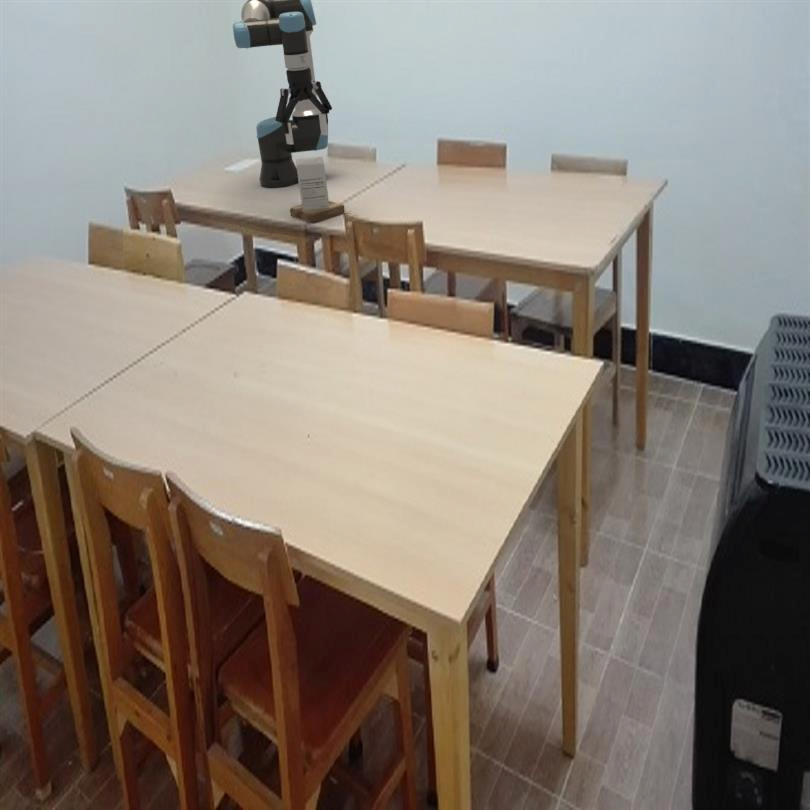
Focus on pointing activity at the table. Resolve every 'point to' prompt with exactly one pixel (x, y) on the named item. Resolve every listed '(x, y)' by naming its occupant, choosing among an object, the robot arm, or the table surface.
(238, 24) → the robot arm
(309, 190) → the supplement box
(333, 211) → the walnut base
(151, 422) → the table surface
